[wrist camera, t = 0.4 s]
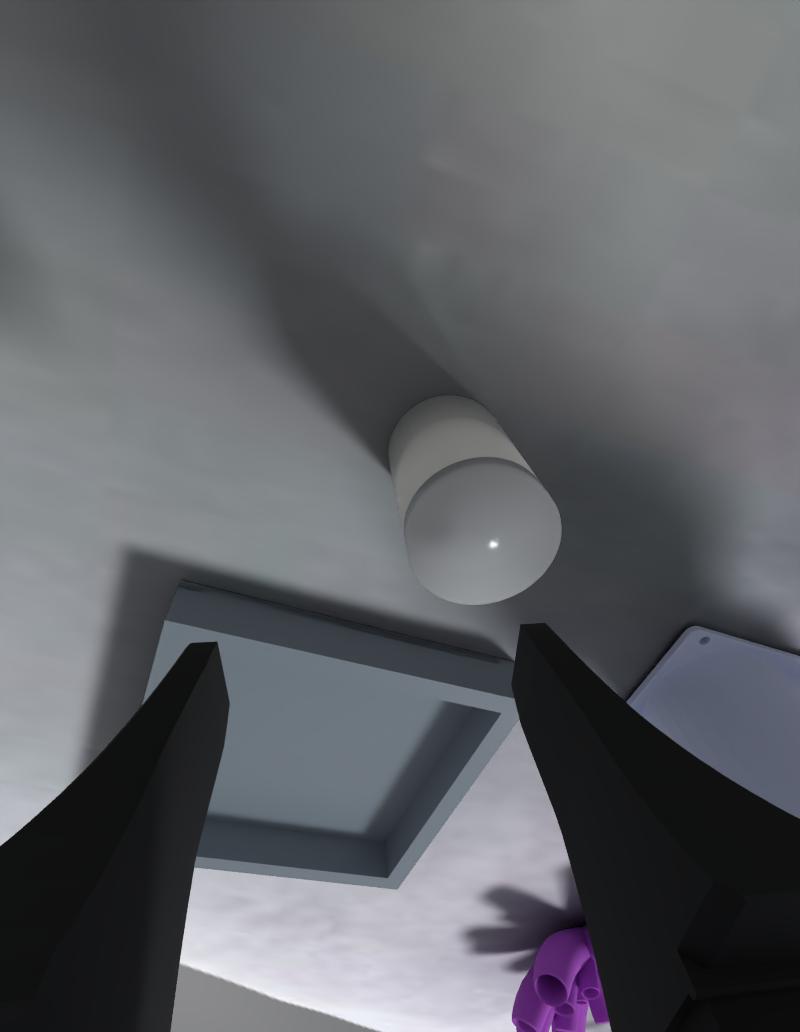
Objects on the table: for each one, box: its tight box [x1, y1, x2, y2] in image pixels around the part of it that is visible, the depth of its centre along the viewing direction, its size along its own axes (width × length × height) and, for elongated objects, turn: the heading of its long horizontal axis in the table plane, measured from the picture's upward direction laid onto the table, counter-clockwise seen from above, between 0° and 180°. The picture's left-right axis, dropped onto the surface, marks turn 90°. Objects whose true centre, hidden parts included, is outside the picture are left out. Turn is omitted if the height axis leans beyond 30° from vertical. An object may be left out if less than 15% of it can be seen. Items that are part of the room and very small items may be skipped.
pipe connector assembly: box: [512, 925, 609, 1032], centre depth 39 cm, size 11×15×10 cm
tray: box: [142, 580, 519, 889], centre depth 27 cm, size 16×16×2 cm
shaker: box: [388, 395, 562, 605], centre depth 18 cm, size 4×4×6 cm
